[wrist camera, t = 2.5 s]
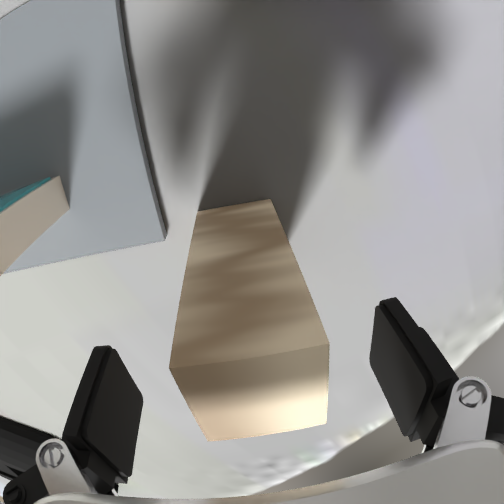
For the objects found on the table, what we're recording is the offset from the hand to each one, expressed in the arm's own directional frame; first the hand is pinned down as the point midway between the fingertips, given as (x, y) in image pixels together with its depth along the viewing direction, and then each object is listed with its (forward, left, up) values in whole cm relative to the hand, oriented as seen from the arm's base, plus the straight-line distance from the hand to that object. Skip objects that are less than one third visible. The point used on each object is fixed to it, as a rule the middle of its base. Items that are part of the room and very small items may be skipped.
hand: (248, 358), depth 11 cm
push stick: (0, 0, -9) cm, 9 cm away
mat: (+14, -9, -9) cm, 19 cm away
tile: (+14, -5, -4) cm, 15 cm away
